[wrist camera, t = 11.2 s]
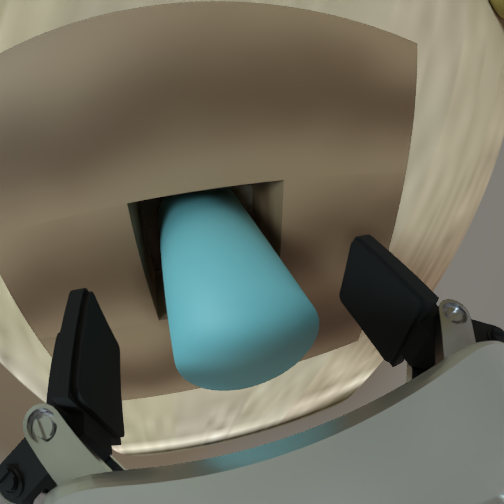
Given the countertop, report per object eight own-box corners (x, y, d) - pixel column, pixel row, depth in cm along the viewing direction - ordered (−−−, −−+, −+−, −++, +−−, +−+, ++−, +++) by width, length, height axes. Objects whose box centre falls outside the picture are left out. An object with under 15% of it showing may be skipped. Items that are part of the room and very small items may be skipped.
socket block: (-5, 78, 7) (-49, 83, 4) (366, 43, 12) (417, 43, 9) (92, 359, 18) (90, 403, 15) (332, 306, 23) (357, 340, 20)
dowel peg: (152, 184, 13) (156, 314, 6) (237, 171, 14) (330, 276, 7) (165, 257, 16) (190, 401, 9) (240, 243, 17) (308, 369, 10)
